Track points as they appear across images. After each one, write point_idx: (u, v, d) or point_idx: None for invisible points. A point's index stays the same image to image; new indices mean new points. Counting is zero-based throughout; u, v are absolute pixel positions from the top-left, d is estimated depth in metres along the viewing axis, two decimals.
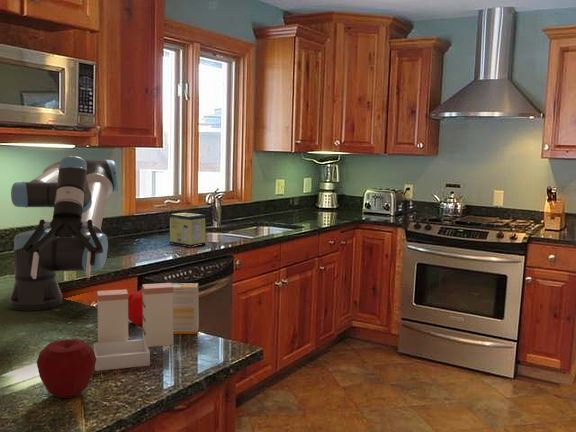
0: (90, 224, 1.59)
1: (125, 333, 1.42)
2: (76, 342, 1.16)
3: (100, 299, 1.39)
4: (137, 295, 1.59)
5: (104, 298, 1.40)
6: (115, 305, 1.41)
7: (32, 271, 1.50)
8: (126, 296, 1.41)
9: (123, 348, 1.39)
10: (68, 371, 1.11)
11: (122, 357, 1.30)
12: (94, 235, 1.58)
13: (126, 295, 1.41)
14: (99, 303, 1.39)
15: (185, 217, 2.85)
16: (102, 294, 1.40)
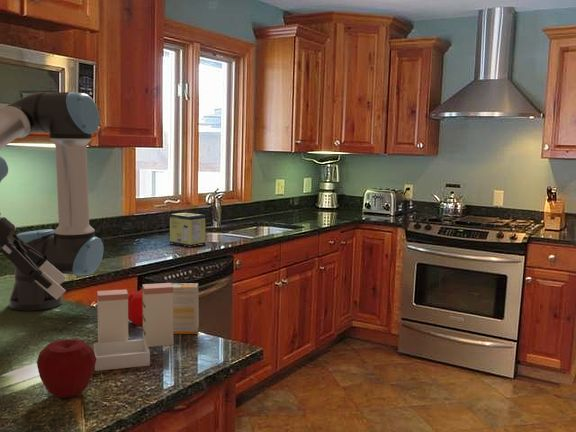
0: None
1: (125, 333, 1.42)
2: (76, 342, 1.16)
3: (100, 299, 1.39)
4: (137, 295, 1.59)
5: (104, 298, 1.40)
6: (115, 305, 1.41)
7: (55, 283, 1.44)
8: (126, 296, 1.41)
9: (123, 348, 1.39)
10: (68, 371, 1.11)
11: (122, 357, 1.30)
12: None
13: (126, 295, 1.41)
14: (99, 303, 1.39)
15: (185, 217, 2.85)
16: (102, 294, 1.40)
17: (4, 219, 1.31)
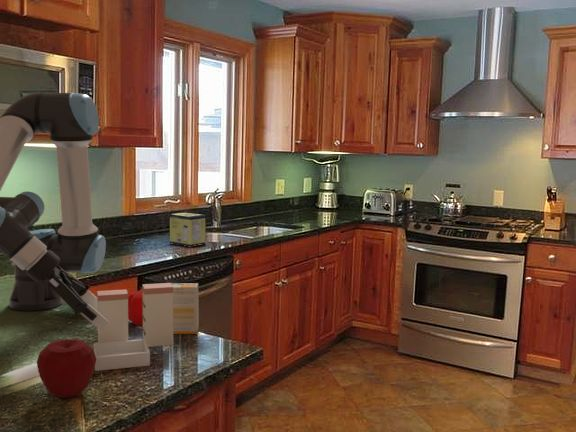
0: None
1: (125, 333, 1.42)
2: (76, 342, 1.16)
3: (100, 299, 1.39)
4: (137, 295, 1.59)
5: (104, 298, 1.40)
6: (115, 305, 1.41)
7: None
8: (126, 296, 1.41)
9: (123, 348, 1.39)
10: (68, 371, 1.11)
11: (122, 357, 1.30)
12: None
13: (126, 295, 1.41)
14: (99, 303, 1.39)
15: (185, 217, 2.85)
16: (102, 294, 1.40)
17: (50, 252, 1.35)
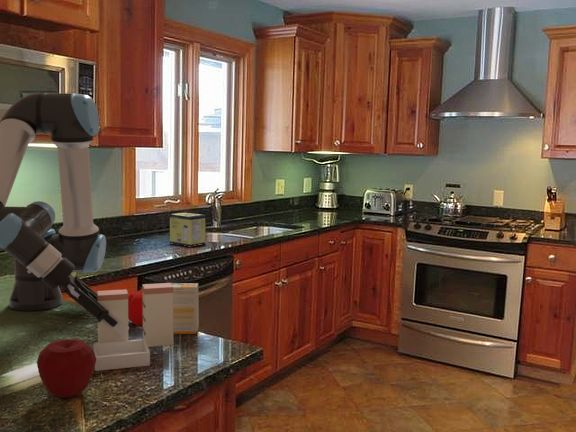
0: None
1: (125, 333, 1.42)
2: (76, 342, 1.16)
3: (100, 299, 1.39)
4: (137, 295, 1.59)
5: (104, 298, 1.40)
6: (115, 305, 1.41)
7: None
8: (126, 296, 1.41)
9: (123, 348, 1.39)
10: (68, 371, 1.11)
11: (122, 357, 1.30)
12: None
13: (126, 295, 1.41)
14: None
15: (185, 217, 2.85)
16: (102, 294, 1.40)
17: (65, 259, 1.37)
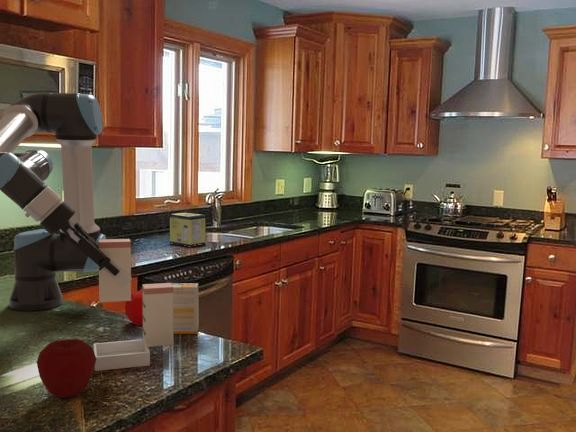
0: None
1: (127, 283, 1.35)
2: (76, 342, 1.16)
3: (101, 246, 1.32)
4: (137, 295, 1.59)
5: (106, 245, 1.33)
6: (117, 253, 1.34)
7: None
8: (129, 244, 1.34)
9: (123, 348, 1.39)
10: (68, 371, 1.11)
11: (122, 357, 1.30)
12: (85, 253, 1.28)
13: (129, 243, 1.34)
14: None
15: (185, 217, 2.85)
16: (103, 241, 1.33)
17: (65, 203, 1.30)
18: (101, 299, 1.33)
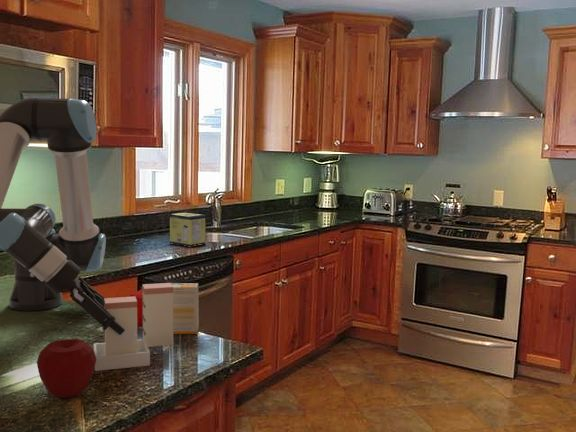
0: None
1: (134, 343, 1.34)
2: (76, 342, 1.16)
3: (107, 307, 1.31)
4: (137, 295, 1.59)
5: (112, 306, 1.31)
6: (123, 313, 1.32)
7: None
8: (135, 304, 1.33)
9: None
10: (68, 371, 1.11)
11: (122, 357, 1.30)
12: None
13: (135, 303, 1.33)
14: None
15: (185, 217, 2.85)
16: (110, 302, 1.31)
17: (70, 262, 1.28)
18: None
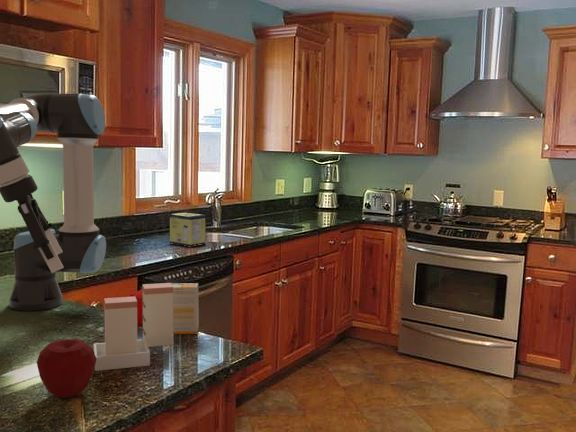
0: (20, 213, 1.25)
1: (134, 343, 1.34)
2: (76, 342, 1.16)
3: (107, 307, 1.31)
4: (137, 295, 1.59)
5: (112, 306, 1.31)
6: (123, 313, 1.32)
7: None
8: (135, 304, 1.33)
9: None
10: (68, 371, 1.10)
11: (122, 357, 1.30)
12: (28, 228, 1.25)
13: (135, 303, 1.33)
14: (106, 311, 1.31)
15: (185, 217, 2.85)
16: (110, 302, 1.31)
17: (31, 178, 1.30)
18: None
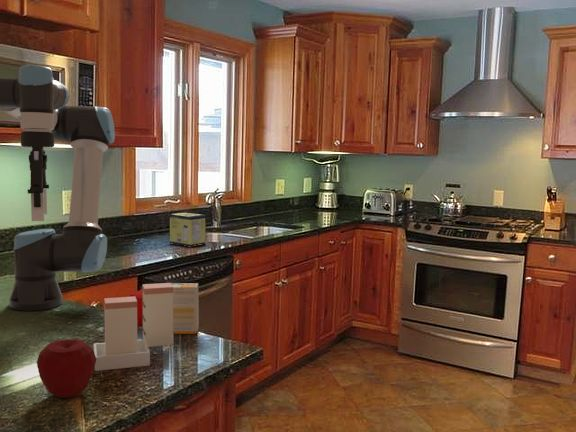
0: (30, 157, 1.35)
1: (134, 343, 1.34)
2: (76, 342, 1.16)
3: (107, 307, 1.31)
4: (137, 295, 1.59)
5: (112, 306, 1.31)
6: (123, 313, 1.32)
7: None
8: (135, 304, 1.33)
9: None
10: (68, 371, 1.10)
11: (122, 357, 1.30)
12: None
13: (135, 303, 1.33)
14: (106, 311, 1.31)
15: (185, 217, 2.85)
16: (110, 302, 1.31)
17: (53, 135, 1.41)
18: None
